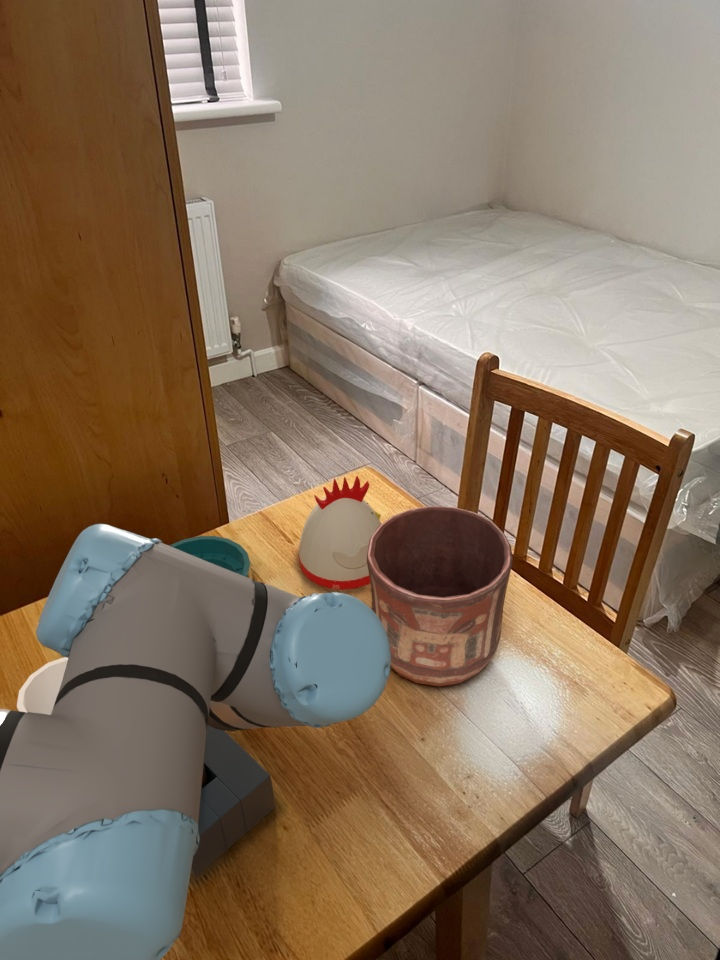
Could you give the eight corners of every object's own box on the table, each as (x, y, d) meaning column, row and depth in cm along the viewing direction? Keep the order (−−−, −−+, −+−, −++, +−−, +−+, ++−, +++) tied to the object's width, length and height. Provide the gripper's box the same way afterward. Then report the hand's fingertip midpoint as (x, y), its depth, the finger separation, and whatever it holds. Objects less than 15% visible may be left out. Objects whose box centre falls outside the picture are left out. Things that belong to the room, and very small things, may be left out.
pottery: (351, 621, 102) (347, 520, 92) (465, 592, 107) (474, 493, 96) (395, 722, 89) (396, 616, 78) (524, 684, 93) (542, 579, 83)
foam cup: (77, 722, 90) (48, 649, 82) (147, 734, 88) (124, 661, 80) (33, 792, 82) (-2, 719, 74) (109, 807, 80) (80, 734, 73)
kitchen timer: (399, 579, 109) (400, 498, 101) (310, 597, 107) (303, 516, 98) (374, 523, 120) (373, 447, 112) (292, 539, 118) (284, 461, 109)
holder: (195, 878, 74) (185, 847, 70) (139, 810, 80) (127, 778, 76) (275, 807, 80) (270, 775, 76) (217, 749, 86) (210, 716, 83)
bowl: (157, 647, 99) (149, 615, 96) (149, 578, 111) (141, 547, 107) (262, 622, 103) (258, 590, 99) (244, 557, 114) (240, 527, 111)
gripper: (190, 785, 50) (114, 776, 69) (344, 663, 58) (239, 685, 78) (133, 691, 50) (73, 708, 69) (296, 583, 58) (202, 624, 78)
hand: (161, 696), depth 73 cm, fingers closed on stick, 2 cm apart
